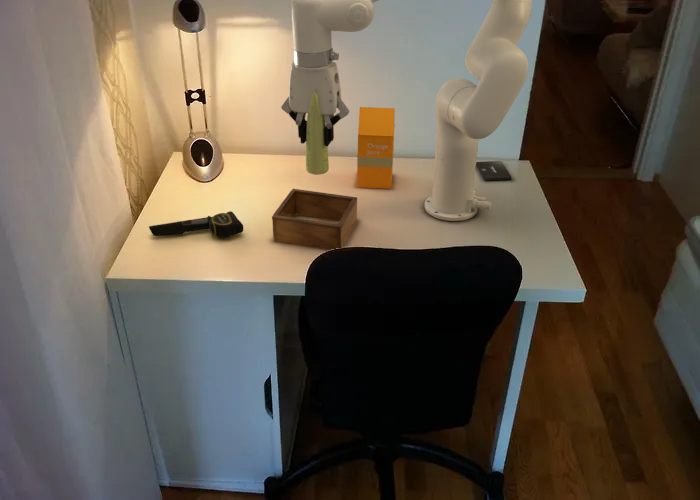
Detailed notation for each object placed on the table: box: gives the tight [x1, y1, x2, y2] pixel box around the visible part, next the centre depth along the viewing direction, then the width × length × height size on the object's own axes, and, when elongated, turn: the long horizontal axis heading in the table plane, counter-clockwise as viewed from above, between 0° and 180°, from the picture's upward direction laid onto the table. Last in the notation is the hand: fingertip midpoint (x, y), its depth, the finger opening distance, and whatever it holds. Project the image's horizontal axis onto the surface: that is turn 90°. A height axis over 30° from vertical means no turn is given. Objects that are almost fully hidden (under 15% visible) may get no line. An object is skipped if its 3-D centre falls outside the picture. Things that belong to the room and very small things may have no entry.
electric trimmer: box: [148, 215, 213, 237], centre depth 157 cm, size 4×16×3 cm, turn 107°
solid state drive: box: [476, 160, 513, 182], centre depth 185 cm, size 7×10×1 cm
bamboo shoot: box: [305, 91, 330, 176], centre depth 146 cm, size 6×5×20 cm
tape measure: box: [209, 210, 244, 239], centre depth 156 cm, size 7×7×4 cm
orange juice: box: [356, 106, 396, 190], centre depth 174 cm, size 8×9×20 cm
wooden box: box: [271, 188, 358, 251], centre depth 157 cm, size 16×14×6 cm
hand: (316, 141), depth 147 cm, fingers closed on bamboo shoot, 4 cm apart
